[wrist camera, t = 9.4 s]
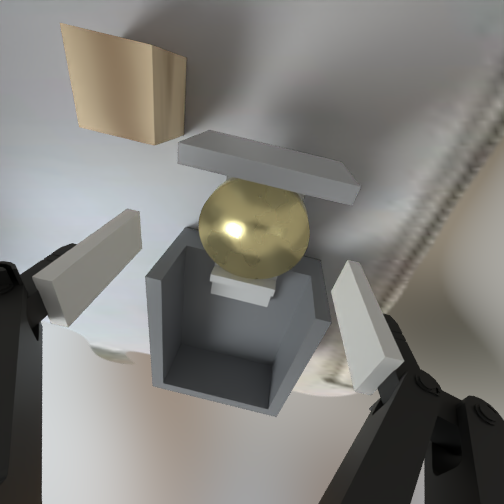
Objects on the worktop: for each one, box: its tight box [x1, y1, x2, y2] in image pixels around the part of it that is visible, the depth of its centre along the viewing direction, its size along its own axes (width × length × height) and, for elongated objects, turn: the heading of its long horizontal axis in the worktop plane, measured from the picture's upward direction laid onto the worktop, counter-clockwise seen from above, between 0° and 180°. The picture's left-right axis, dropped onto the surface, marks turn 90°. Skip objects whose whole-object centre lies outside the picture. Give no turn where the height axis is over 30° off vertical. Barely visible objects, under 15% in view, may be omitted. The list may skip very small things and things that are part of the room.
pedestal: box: [60, 23, 187, 145], centre depth 16 cm, size 5×5×5 cm
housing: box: [145, 227, 332, 417], centre depth 25 cm, size 14×16×8 cm
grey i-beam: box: [177, 130, 361, 307], centre depth 18 cm, size 9×14×5 cm, turn 169°
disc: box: [199, 177, 310, 279], centre depth 18 cm, size 8×8×2 cm
